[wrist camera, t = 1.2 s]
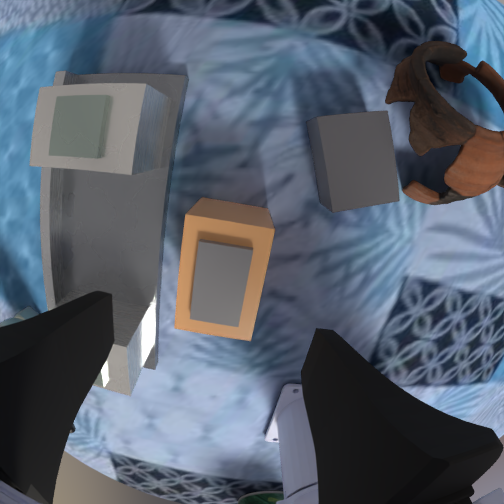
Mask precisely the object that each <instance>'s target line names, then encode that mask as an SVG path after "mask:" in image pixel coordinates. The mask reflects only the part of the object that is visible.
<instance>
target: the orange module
mask: <svg viewBox="0 0 504 504" xmlns="http://www.w3.org/2000/svg"><path fill="white" fill-rule="evenodd" d="M274 232H275V228H274V225H273V222H272V219H271V216H270V213H269V210H268V208H263V207H257V206H251V205H246V204H240V203H234V202H228V201H222V200H216V199H210V198H204V197H201V199H200V200H199V201H198V202H197V203H196V204H195V205H194V206H193V207H192V208H191V209H190V210H189V211H188V212H187V213H186V214H185V222H184V230H183V239H182V247H181V257H180V267H179V277H178V288H177V300H176V313H175V329H181V330H186V331H191V332H197V333H203V334H209V335H215V336H221V337H227V338H234V339H240V340H247V341H251V338H252V334H253V329H254V325H255V320H256V316H257V311H258V307H259V302H260V298H261V293H262V288H263V284H264V279H265V275H266V270H267V265H268V261H269V256H270V251H271V247H272V242H273V237H274Z"/></svg>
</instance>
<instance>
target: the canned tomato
mask: <svg viewBox="0 0 504 504" xmlns="http://www.w3.org/2000/svg"><path fill="white" fill-rule="evenodd" d="M281 500H284V492H283V491H260V492H253V493H249V494H246V495H244V496H242V497H240V498H239V500H238V504H276V502H277V501H281Z"/></svg>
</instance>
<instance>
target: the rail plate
mask: <svg viewBox="0 0 504 504" xmlns="http://www.w3.org/2000/svg"><path fill="white" fill-rule="evenodd" d="M188 81H189V79H188V78H187V77H186V75H171V74H149V73H106V74H85V75H77V74H74V73H71V72H68V71H59V72H56V74H55V79H54V83H53V86H50V87H41V88H40V90H39V96H38V101H37V107H36V113H35V119H34V126H33V134H32V143H31V154H30V166H38V167H42V171H41V193H40V229H41V251H42V264H43V275H44V284H45V293H46V300H47V307H48V311H49V310H52V309H54V308H56V307H59V306H61V305H63V304H65V303H68V302H70V301H72V300H74V299H77V298H79V297H81V296H84V295H86V294H88V293H91V292H94V291H97V290H98V291H102V292H106V293H111V294H112V303H113V324H114V338H115V341H114V344H113V346H112V349H111V351H110V354H109V356H108V358H107V361H106V363H105V365H104V366H103V368H102V370H101V372H100V373H99V375H98V377H97V378H96V380H95V382H94V384H93V385H94V386H98V387H101V388H104V389H107V390H111V391H114V392H118V393H121V394H125V395H129V396H131V394H132V392H133V389H134V387H135V385H136V382H137V380H138V377H139V375H140V373H141V370H142V368H143V367H144V368H149V369H153V370H155V369H156V366H157V364H158V337H159V308H160V289H161V273H162V260H163V248H164V237H165V227H166V218H167V209H168V200H169V192H170V185H171V177H172V170H173V163H174V157H175V150H176V144H177V138H178V132H179V127H180V121H181V116H182V110H183V105H184V100H185V95H186V90H187V86H188Z"/></svg>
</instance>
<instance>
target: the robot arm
mask: <svg viewBox="0 0 504 504" xmlns="http://www.w3.org/2000/svg"><path fill="white" fill-rule="evenodd" d="M114 341H115V338H114V324H113V303H112V294H111V293H106V292H102V291H98V290H97V291H94V292H91V293H88V294H86V295H84V296H81V297H79V298H77V299H74V300H72V301H70V302H68V303H65V304H63V305H61V306H59V307H56V308H54V309H52V310H49V311H47V312H44V313H42V314H39V315H37V316H34V317H32V318H29V319H26V320H23V321H20V322H17V323H13V324H10V325H6V326H2V327H0V504H53V497H54V490H55V484H56V479H57V475H58V470H59V466H60V463H61V458H62V455H63V452H64V448H65V445H66V442H67V439H68V436H69V433H70V430H71V428H72V425H73V422H74V420H75V417H76V415H77V413H78V411H79V409H80V407H81V405H82V403H83V401H84V399H85V398H86V396H87V394H88V392H89V391H90V389H91V387H92V385H93V384H94V382H95V380H96V378H97V377H98V375H99V373H100V372H101V370H102V368H103V366H104V365H105V363H106V361H107V358H108V356H109V354H110V351H111V349H112V346H113V344H114ZM301 379H302V384H286V385H285V386H284V387H283V389H282V392H281V395H280V397H279V400H278V403H277V406H276V408H275V411H274V414H273V416H272V419H271V422H270V424H269V427H268V429H267V432H266V435H265V440H266V441H267V442H279V449H280V460H281V470H282V481H283V492H284V500H281V501H277V502H276V504H504V493H503V491H502V489H501V488H498V489H496V490H494V491H492V492H491V493H489V494H487V495H485V496H483V497H481V498H480V499H478V500H476V501H475V502H473V503H472V502H471V500H470V498H469V497H471V496H472V495H473V494H474V489H473V487H472V484H473V483H474V482H475V481H476V480H478V479H479V478H480V477H481V476H482V475H483V474H484V473H485V472H486V471H487V470H488V469H489V468H490V467H491V466H492V465H493V464H494V463H495V462H496V461H497V459H498V458H499V457H500V455H501V453H502V451H503V445H502V443H501V442H500V440H499V438H498V437H497V435H496V434H495V432H494V431H493V430H492V429H491V428H487V427H483V426H480V425H476V424H473V423H469V422H466V421H463V420H461V419H458V418H456V417H453V416H450V415H448V414H446V413H444V412H441V411H439V410H437V409H435V408H433V407H431V406H429V405H428V404H426V403H424V402H422V401H420V400H418V399H417V398H415V397H413V396H412V395H410V394H409V393H407V392H406V391H404V390H403V389H401V388H400V387H398V386H397V385H396V384H394V383H393V382H392V381H390V380H389V379H388V378H386V377H385V376H384V375H383V374H381V373H380V372H379V371H378V370H377V369H375V368H374V367H373V366H372V365H371V364H370V363H369V362H367V361H366V360H365V359H364V358H363V357H362V356H361V355H360V354H359V353H358V352H357V351H356V350H354V349H353V348H352V347H351V346H350V345H349V344H348V343H347V342H346V341H345V340H344V339H343V338H342V337H340V336H339V335H338V334H337V333H336V332H335V331H333V330H328V329H319V328H316V331H315V334H314V337H313V340H312V343H311V345H310V348H309V351H308V354H307V357H306V360H305V362H304V365H303V368H302V371H301ZM294 389H297V390H294Z"/></svg>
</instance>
